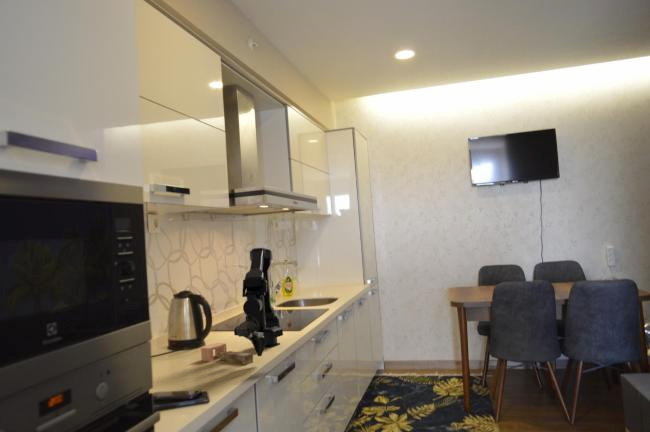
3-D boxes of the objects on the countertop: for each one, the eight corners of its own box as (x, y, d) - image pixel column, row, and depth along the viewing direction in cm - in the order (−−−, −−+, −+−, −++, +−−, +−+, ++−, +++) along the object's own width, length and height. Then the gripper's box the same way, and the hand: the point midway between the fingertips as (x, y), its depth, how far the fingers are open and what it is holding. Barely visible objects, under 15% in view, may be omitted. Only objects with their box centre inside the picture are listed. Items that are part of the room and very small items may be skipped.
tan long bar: (253, 362, 170) (252, 353, 170) (247, 364, 167) (246, 355, 167) (224, 358, 178) (224, 350, 178) (218, 360, 176) (217, 352, 176)
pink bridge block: (218, 354, 184) (217, 342, 184) (226, 356, 181) (226, 343, 181) (201, 360, 178) (200, 347, 178) (210, 361, 175) (209, 348, 175)
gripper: (221, 314, 165) (224, 359, 164) (259, 316, 154) (263, 365, 153) (244, 308, 174) (247, 351, 173) (282, 310, 163) (285, 356, 162)
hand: (259, 356), depth 165 cm, fingers closed
